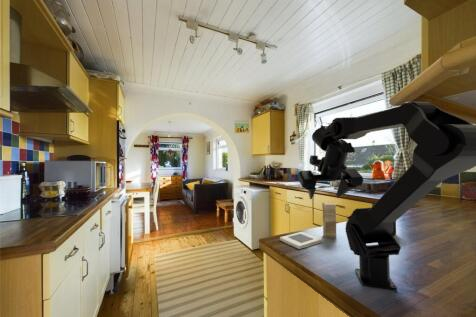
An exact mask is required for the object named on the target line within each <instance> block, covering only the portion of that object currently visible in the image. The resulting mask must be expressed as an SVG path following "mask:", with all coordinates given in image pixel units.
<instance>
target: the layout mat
mask: <svg viewBox="0 0 476 317" xmlns="http://www.w3.org/2000/svg"><path fill="white" fill-rule="evenodd" d="M279 241H281V242H283V243H285V244H287V245H289V246H291V247H294V248H295V249H298V250H301V249H304V248H307V247H311V246H314V245H317V244H321V243H323V242H324V241H323V238H321V237H318V236H315V235H312V234H309V233H307V232H304V231H299V232H295V233H291V234H287V235H284V236H280V237H279Z"/></svg>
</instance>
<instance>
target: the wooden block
mask: <svg viewBox="0 0 476 317" xmlns="http://www.w3.org/2000/svg"><path fill="white" fill-rule="evenodd" d="M321 204H322V234H323V237H324V238H325V239H330V238H336V239H337V212H336V211H337V207H336V206H337V204H336V203H334V202H321Z"/></svg>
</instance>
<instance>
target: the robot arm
mask: <svg viewBox="0 0 476 317" xmlns="http://www.w3.org/2000/svg"><path fill="white" fill-rule="evenodd" d="M403 127H404V128H405V130H406V133H407V137H408V138H410V140H412V141H413V142H414V143H415V144H416V145H415V148H413V151H412V163H411V165H410V166H409V167H408V168H407V169H406V170H405V171H404V172H403V173H402V175H401V176H400V177H399V178H397V179H396V181H395V182H394V183H393V184H392V185H391V186H390V187H389V188H388V189H387V190H386V192H385V193H384V194H382V195H381V196H380V198H379V199H378V200H376V202H375V203H374V204H373V206H371V207H361V208H360V207H359V208H355V209H354V210H353V211H352V212H351V214H350V215H349V216H347V217H346V219H347V220H346V223H345V228H344V229H345V234H346V238H347V241H348V245H349V246H348V247H349V250H350V251H352V252H353V255H356V256H359V258H358V259H359V262H358V263H359V268H355V270H354V272H355V274H356V275H357V277H358V279H359V281H360V283H361V285H363V286H366V287H367V286H368V287H374V288H379V289H380V288H381V289H388V290H395V291H396V290H398V287H397V285H396V284H395V282H394V281H393V280H392V278H391V272H390V270H391V269H390V256H394V255H395V256H399V255H400V251H401V248H402V247H401V246H400V244H399V243H398V241H397V240H396V238H395V237H394V236H392V234H391V233H392V232H393V223H394V222H395V221H396V222H397V220H399V219H400V218H401V217H402V216H404V215H405V214H406V213H407V212H408V211H409V210H411V208H413V207H414V206H415V205H417V203H418V202H420V201H421V200H422V199H423V198H424V197H426V196H427V195H428V194H429V193H430V192H432V191H433V190H434V189H435V188H437V186H439V185H440V184H441V183H442V182H443V181H445V180H447V179H449V178H452V177H455V176H456V175H459V174H462V173H464V172H467V171H469V170H471V169H473V168H475V167H476V124H473V123H472V122H470V121H469V120H467V119H464V118H462V117H460V116H457V115H455V114H453V113H450V112H448V111H445V110H444V109H441V108H440V107H439V106H437V105H436V104H434V103H432V102H429V101H413V100H412V101H411V100H410V101H407V102H403V103H402V104H400V105H397V106H393V107H389V108H385V109H383V110H378V111H375V112H371V113H368V114H365V115H361V116H351V117H349V116H348V117H334V119H332V121H331V123H329V125H328V124H321V125H320V127H319V128H317V129H316V130H315V131H314V132H313V133H312V135H311V140H312V141H313V142H314V143H315V145H317V147H319V148H320V149H321V151H324V152H325V154H324V155H320V156H319V155H316V154H310V157H309V165H311V166H314V167H316V168H317V172H320V174H314V173H313V172H312V170H310V169H309V170H300V171H298V172H297V179H298V182H299V184H300V186H301V187H302V188H303V189H305V190H307V192H308V196H309V199H310V200H312V199H313V197H314V195H315V193H316V190H317V188H316V186H317V183H321V182H322V183H323V182H324V183H325V182H339V186H338V188H337V190H336V196H335V197H336V198H337V199H339V198H341V197H342V196H344V195H345V194H346V193H348V192H350V191H351V190H354V189H355V188H358V187H361V186H363V183H364V177H363V176H362V175H361V173H359V172H358V170H357V169H356V168H347V165H346V160H347V157H348V155H349V154H352V153H355V152H356V150H355V148H354V147H353V144H352V142H347V141H346V140H357V139H360V138H363V137H366V135H367V134H369V133H372V132H378V131H385V130H391V129H392V130H393V129H396V128H403ZM368 244H369V245H368Z"/></svg>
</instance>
